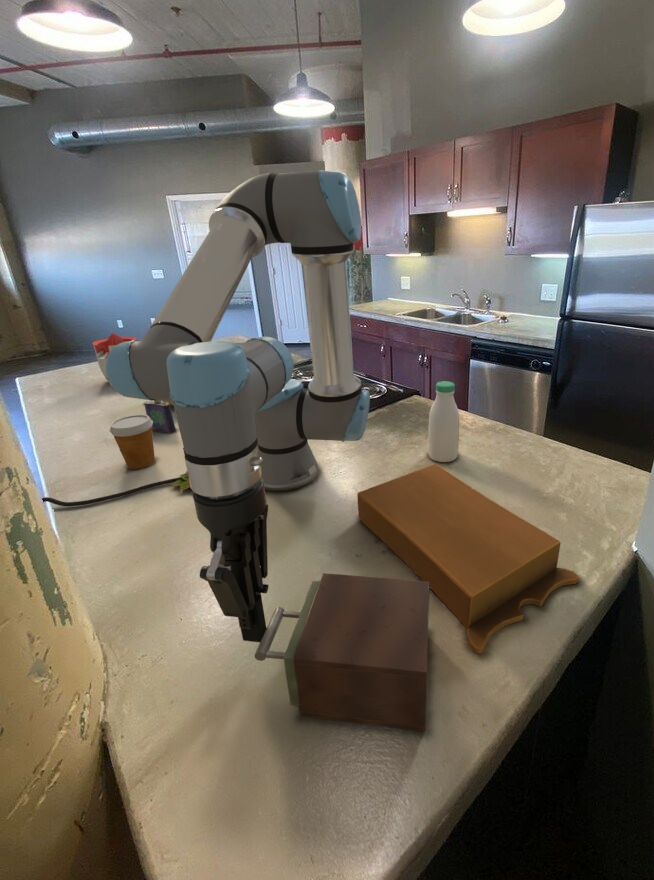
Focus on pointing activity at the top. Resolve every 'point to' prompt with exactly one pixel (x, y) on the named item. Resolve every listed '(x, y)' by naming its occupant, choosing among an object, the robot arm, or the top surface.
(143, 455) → the disposable coffee cup
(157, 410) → the flask
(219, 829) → the top surface
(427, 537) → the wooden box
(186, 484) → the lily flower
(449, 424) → the milk bottle
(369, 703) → the cabinet
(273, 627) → the drawer
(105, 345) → the citrus juicer
